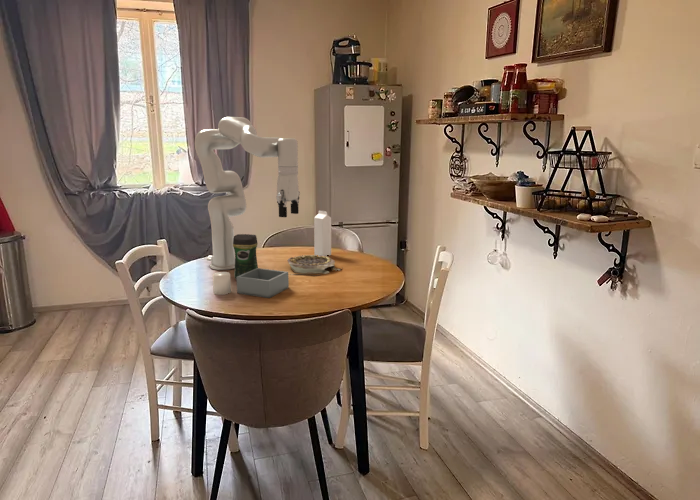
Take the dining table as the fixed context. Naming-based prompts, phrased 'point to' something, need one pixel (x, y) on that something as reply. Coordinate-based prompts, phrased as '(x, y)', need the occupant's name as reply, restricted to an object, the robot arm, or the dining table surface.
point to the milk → (322, 234)
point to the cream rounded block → (221, 283)
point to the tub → (262, 282)
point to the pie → (311, 264)
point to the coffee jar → (245, 253)
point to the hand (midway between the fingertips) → (288, 215)
